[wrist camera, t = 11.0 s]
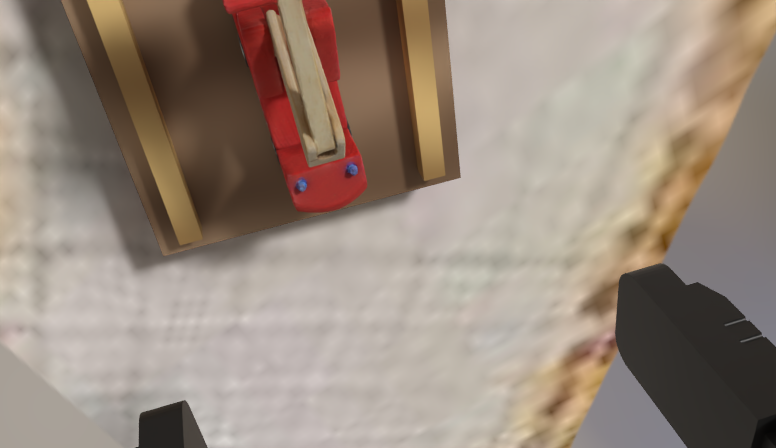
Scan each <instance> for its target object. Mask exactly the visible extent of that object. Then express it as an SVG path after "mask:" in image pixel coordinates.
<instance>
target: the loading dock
mask: <svg viewBox="0 0 776 448" xmlns="http://www.w3.org/2000/svg"><path fill="white" fill-rule="evenodd" d="M61 2H62V4H63V7H64V9H65V12H66V14H67V17H68V19H69V22H70V24H71V27H72V29H73V32H74V34H75V37H76V39H77V42H78V44H79V47H80V49H81V52H82V54H83V57H84V59H85V62H86V64H87V67H88V69H89V72H90V74H91V77H92V79H93V82H94V84H95V87H96V89H97V92H98V94H99V97H100V99H101V102H102V104H103V106H104V109H105V111H106V114H107V116H108V119H109V121H110V124H111V126H112V129H113V131H114V134H115V136H116V139H117V141H118V144H119V146H120V149H121V151H122V154H123V156H124V159H125V161H126V164H127V166H128V169H129V171H130V174H131V176H132V179H133V181H134V184H135V186H136V189H137V191H138V194H139V196H140V199H141V201H142V204H143V206H144V209H145V211H146V214H147V216H148V219H149V221H150V224H151V226H152V229H153V231H154V234H155V236H156V239H157V241H158V244H159V246H160V249H161V251H162V254H163V256H166V255H170V254H174V253H178V252H181V251H185V250H189V249H193V248H196V247H200V246H204V245H208V244H212V243H215V242H219V241H223V240H227V239H230V238H234V237H238V236H242V235H246V234H249V233H253V232H257V231H261V230H265V229H268V228H272V227H276V226H280V225H283V224H287V223H291V222H295V221H299V220H302V219H306V218H310V217H314V216H317V215H321V214H325V213H329V212H333V211H329V212H323V213H308V212H299V211H297V210H296V208H295V206H294V204H293V202H292V198H291V195H290V193H289V190H288V187H287V184H286V181H285V178H284V174H283V171H282V168H281V165H280V164H279V162H278V159H277V156H276V153H275V150H274V147H273V144H272V141H271V134H270V131H269V128H268V125H267V122H266V120H265V116H264V113H263V111H262V107H261V104H260V101H259V98H258V95H257V91H256V88H255V85H254V81H253V78H252V75H251V72H250V68H249V67H247V65H246V62H245V59H244V55H243V53H242V50H241V46H240V43H239V39H238V31H237V28H236V25H235V23H234V20H233V17H232V14H228V13H227V12H226V10H225V8H224V4H223V1H222V0H61ZM326 2H327V4H328V6H329V7H330V8H331V11H332V17H333V23H334V28H335V35H336V45H337V51H338V60H339V68H340V80H337V82H338V87H339V91H340V95H341V99H342V102H343V106H344V112H345V115H346V118H347V121H348V124H349V126H350V130H351V133H352V138H353V140H354V142H355V144H356V146H357V148H358V150H359V152H360V154H361V157H362V161H363V166H364V170H365V174H366V179H367V188H366V190H365V191H364V192H363V193H362V194H361V195H360V196H359V197H358V198H356V199H355V200H354V201H353V202H351V203H350V204H348V205H346V206H345V207H343V208H340V209H344V208H348V207H351V206H355V205H359V204H363V203H367V202H370V201H374V200H378V199H382V198H386V197H389V196H393V195H397V194H401V193H404V192H408V191H412V190H416V189H420V188H423V187H427V186H431V185H435V184H438V183H442V182H446V181H450V180H454V179H457V178H461V177H460V166H459V154H458V143H457V132H456V121H455V110H454V98H453V87H452V76H451V65H450V53H449V42H448V31H447V20H446V9H445V0H326ZM340 209H338V210H340ZM334 211H336V210H334Z"/></svg>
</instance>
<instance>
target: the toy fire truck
mask: <svg viewBox="0 0 776 448" xmlns="http://www.w3.org/2000/svg"><path fill="white" fill-rule="evenodd" d="M222 1H223V4H224V8H225V10H226V12H227V13H228V14H232V17H233V20H234V23H235V25H236V28H237V31H238V39H239V43H240V46H241V50H242V53H243V55H244V59H245V62H246V65H247V67H249V68H250V72H251V75H252V78H253V81H254V85H255V88H256V91H257V95H258V98H259V101H260V104H261V107H262V111H263V113H264V116H265V120H266V122H267V125H268V128H269V131H270V134H271V141H272V144H273V147H274V150H275V153H276V156H277V159H278V162H279V164H280V165H281V168H282V171H283V174H284V178H285V181H286V184H287V187H288V190H289V193H290V195H291V198H292V202H293V204H294V206H295V208H296V210H297V211H299V212H308V213H323V212H329V211H334V210H338V209H340V208H343V207H345V206H346V205H348V204H350V203H351V202H353V201H354V200H355V199H356V198H358V197H359V196H360V195H361V194H362V193H363V192H364V191H365V190H366V188H367V179H366V174H365V170H364V166H363V161H362V157H361V154H360V152H359V150H358V148H357V146H356V144H355V142H354V140H353V138H352V133H351V130H350V126H349V124H348V121H347V118H346V115H345V112H344V106H343V102H342V99H341V95H340V91H339V87H338V82H337V80H340V68H339V60H338V51H337V45H336V35H335V28H334V23H333V17H332V11H331V8H330V7H329V6H328V4H327V2H326V0H222Z"/></svg>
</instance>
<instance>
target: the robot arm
mask: <svg viewBox="0 0 776 448" xmlns="http://www.w3.org/2000/svg"><path fill="white" fill-rule="evenodd" d="M615 335H616V342H617V346H618V349H619V352H620V354H621V356H622V359H623V360H624V362H625V364H626V366H627V367H628V368H629V370H630V371H631V372H632V374H633V375H634V376H635V378H636V379H637V380H638V382H639V383H640V384H641V386H642V387H643V388H644V390H645V391H646V393H647V394H648V395H649V396H650V398H651V399H652V401H653V402H654V403H655V405H656V406H657V407H658V409H659V410H660V411H661V413H662V414H663V415H664V417H665V418H666V419H667V421H668V422H669V423H670V425H671V426H672V427H673V429H674V430H675V431H676V433H677V434H678V436H679V437H680V438H681V440H682V441H683V442H684V444H685V445H686V446H687V448H776V347H775V346H774V345H773V344H772V343H771V342H770V341H769V340H768V339H767V338H766V337H765V338H764V337H763V336H762V333H761V332H760V331H759V330H758V329H757V328H756V327H755V326H754V325H753V324H752V323H751V322H750V321H746V318H745V316H744V315H743V314H742V313H741V312H740V311H739V310H738V309H737V308H736V307H735V306H734V305H733V304H732V303H731V302H730V301H729V300H728V299H727V298H726V297H725V296H723V295H721V294H719V293H717V292H715V291H713V290H711V289H709V288H708V287H705V286H704V285H702V284H700V283H698V282H697V283H693V284H690V285H685V283H684V282H683V281H682V280H681V279H680V278H679V277H678V276H677V275H676V274H675V273H674V272H673V271H672V270H671V269H670V268H669V267H668V266H666V265H665V264H661V263H660V264H656V265H653V266H649V267H646V268H642V269H639V270H636V271H632V272H629V273H625V274H623V275H621V277H620V280H619V288H618V302H617V316H616V330H615ZM136 448H208V447H207V445H206V443H205V441H204V438H203V436H202V434H201V432H200V429H199V427H198V425H197V423H196V420H195V418H194V416H193V414H192V411H191V409H190V407H189V405H188V403H187V402H186V401H185V400H184V401H180V402H177V403H173V404H170V405H167V406H163V407H160V408H156V409H153V410H149V411H146V412H142V413H141V414H140V418H139V447H136Z"/></svg>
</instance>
